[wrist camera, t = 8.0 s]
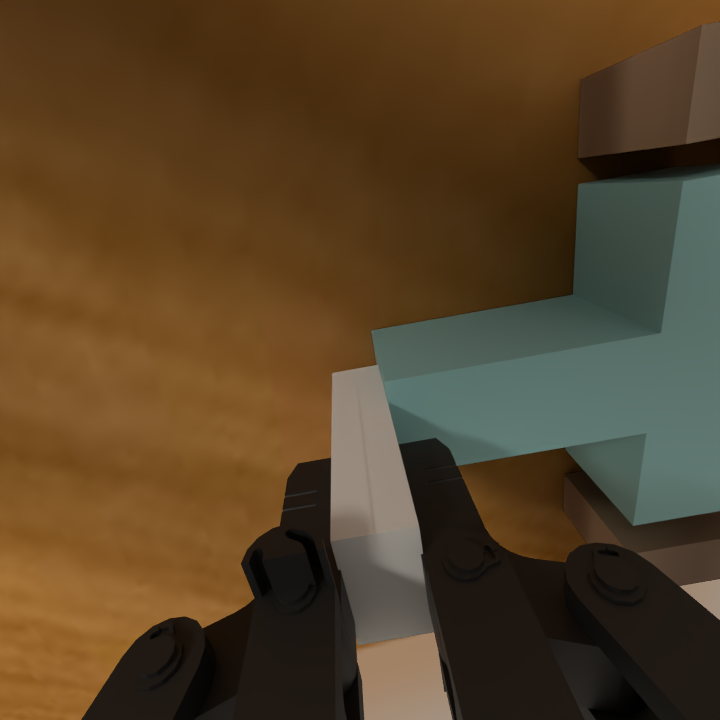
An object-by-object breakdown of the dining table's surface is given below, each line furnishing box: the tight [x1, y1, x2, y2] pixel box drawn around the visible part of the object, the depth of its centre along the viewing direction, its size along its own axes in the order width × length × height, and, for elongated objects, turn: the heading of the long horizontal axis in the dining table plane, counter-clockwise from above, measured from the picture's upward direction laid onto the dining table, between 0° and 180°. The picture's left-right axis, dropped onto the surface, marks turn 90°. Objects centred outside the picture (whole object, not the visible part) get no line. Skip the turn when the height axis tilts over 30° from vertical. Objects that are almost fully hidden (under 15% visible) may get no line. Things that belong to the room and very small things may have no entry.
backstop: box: [563, 22, 720, 586], centre depth 12 cm, size 7×16×4 cm, turn 10°
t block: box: [371, 164, 720, 526], centre depth 12 cm, size 10×10×4 cm
